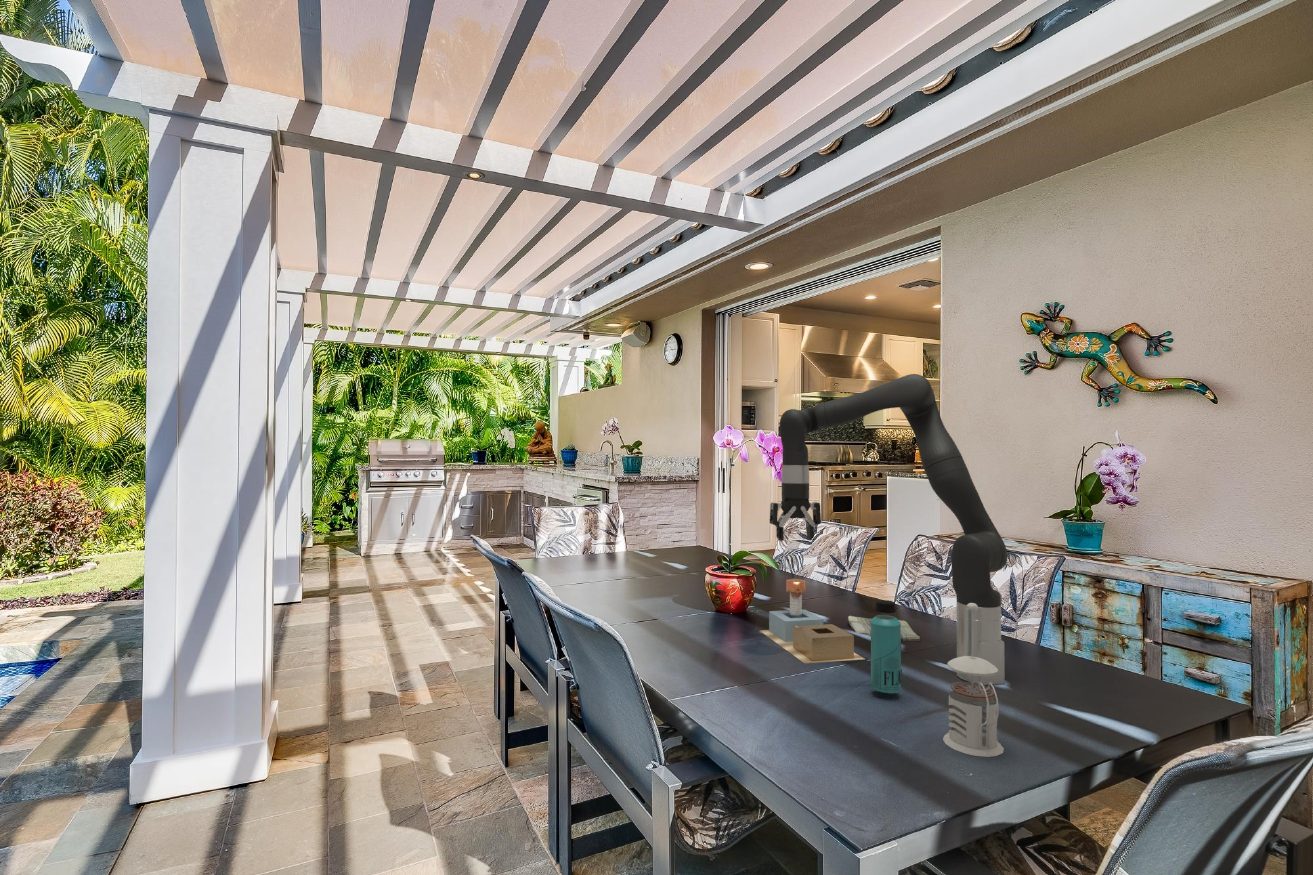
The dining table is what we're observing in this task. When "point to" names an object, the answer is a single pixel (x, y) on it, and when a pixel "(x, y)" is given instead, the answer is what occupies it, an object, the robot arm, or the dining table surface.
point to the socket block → (790, 623)
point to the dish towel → (865, 627)
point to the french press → (973, 707)
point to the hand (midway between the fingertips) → (795, 540)
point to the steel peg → (795, 596)
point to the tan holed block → (823, 642)
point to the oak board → (804, 659)
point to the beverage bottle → (886, 649)
